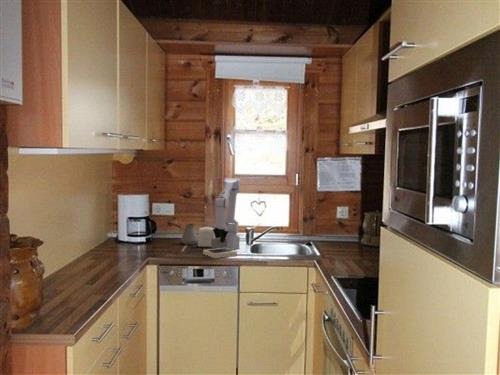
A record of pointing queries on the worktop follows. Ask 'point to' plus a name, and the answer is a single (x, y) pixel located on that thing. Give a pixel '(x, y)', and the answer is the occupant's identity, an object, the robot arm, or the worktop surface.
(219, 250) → the stand
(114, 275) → the worktop surface
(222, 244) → the housing
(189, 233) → the coffee pot
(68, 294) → the worktop surface
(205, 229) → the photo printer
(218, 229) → the robot arm
